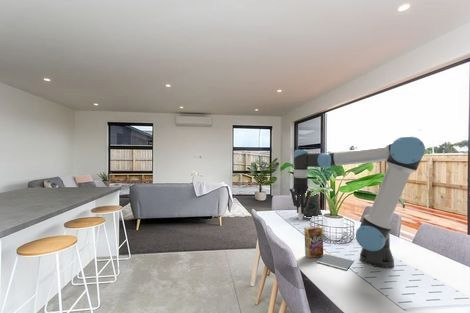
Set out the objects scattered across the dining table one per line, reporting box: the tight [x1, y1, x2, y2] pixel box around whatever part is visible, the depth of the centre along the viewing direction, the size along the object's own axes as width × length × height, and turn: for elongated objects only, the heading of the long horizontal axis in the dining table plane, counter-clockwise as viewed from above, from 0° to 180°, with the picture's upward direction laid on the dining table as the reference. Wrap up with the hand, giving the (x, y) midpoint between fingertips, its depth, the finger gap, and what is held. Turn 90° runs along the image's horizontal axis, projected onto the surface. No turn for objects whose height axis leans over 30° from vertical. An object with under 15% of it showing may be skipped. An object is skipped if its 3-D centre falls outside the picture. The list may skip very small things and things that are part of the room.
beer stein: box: [300, 193, 323, 217], centre depth 219 cm, size 16×19×25 cm
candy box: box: [303, 225, 324, 259], centre depth 130 cm, size 9×4×15 cm, turn 103°
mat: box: [315, 253, 355, 272], centre depth 123 cm, size 14×14×1 cm
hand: (300, 219), depth 135 cm, fingers closed
